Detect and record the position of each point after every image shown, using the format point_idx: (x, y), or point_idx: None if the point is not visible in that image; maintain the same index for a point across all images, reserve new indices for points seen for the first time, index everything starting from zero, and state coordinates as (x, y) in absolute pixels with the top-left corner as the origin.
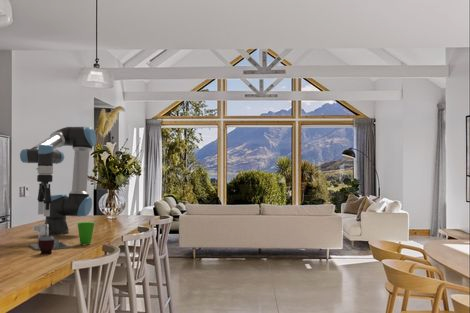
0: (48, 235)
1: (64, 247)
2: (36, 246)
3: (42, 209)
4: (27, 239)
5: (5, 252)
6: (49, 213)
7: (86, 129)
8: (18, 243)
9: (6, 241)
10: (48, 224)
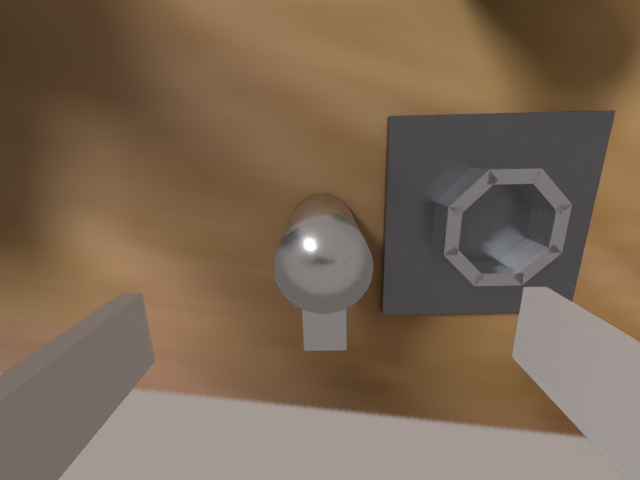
0: (336, 204)
1: (604, 147)
2: (484, 294)
3: (91, 357)
4: (89, 274)
5: (534, 428)
6: (579, 310)
7: None
8: (254, 342)
9: (153, 382)
10: (332, 224)
